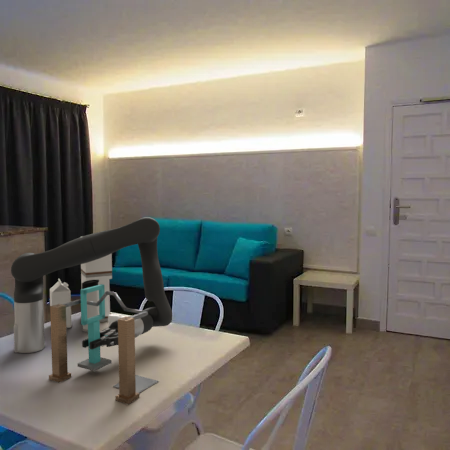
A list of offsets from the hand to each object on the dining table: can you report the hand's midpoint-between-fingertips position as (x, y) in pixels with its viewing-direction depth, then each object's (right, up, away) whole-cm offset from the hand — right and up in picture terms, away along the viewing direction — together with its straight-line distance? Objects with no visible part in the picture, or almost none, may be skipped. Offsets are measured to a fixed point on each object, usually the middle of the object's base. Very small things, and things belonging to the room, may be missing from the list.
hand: (86, 345), depth 132 cm
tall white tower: (-14, -5, +60) cm, 62 cm away
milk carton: (-25, -6, +48) cm, 55 cm away
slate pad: (+16, -10, -5) cm, 19 cm away
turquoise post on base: (+1, -7, +3) cm, 8 cm away
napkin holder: (-1, -6, +47) cm, 48 cm away
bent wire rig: (+5, -10, -5) cm, 12 cm away
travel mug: (-12, -6, +44) cm, 46 cm away
